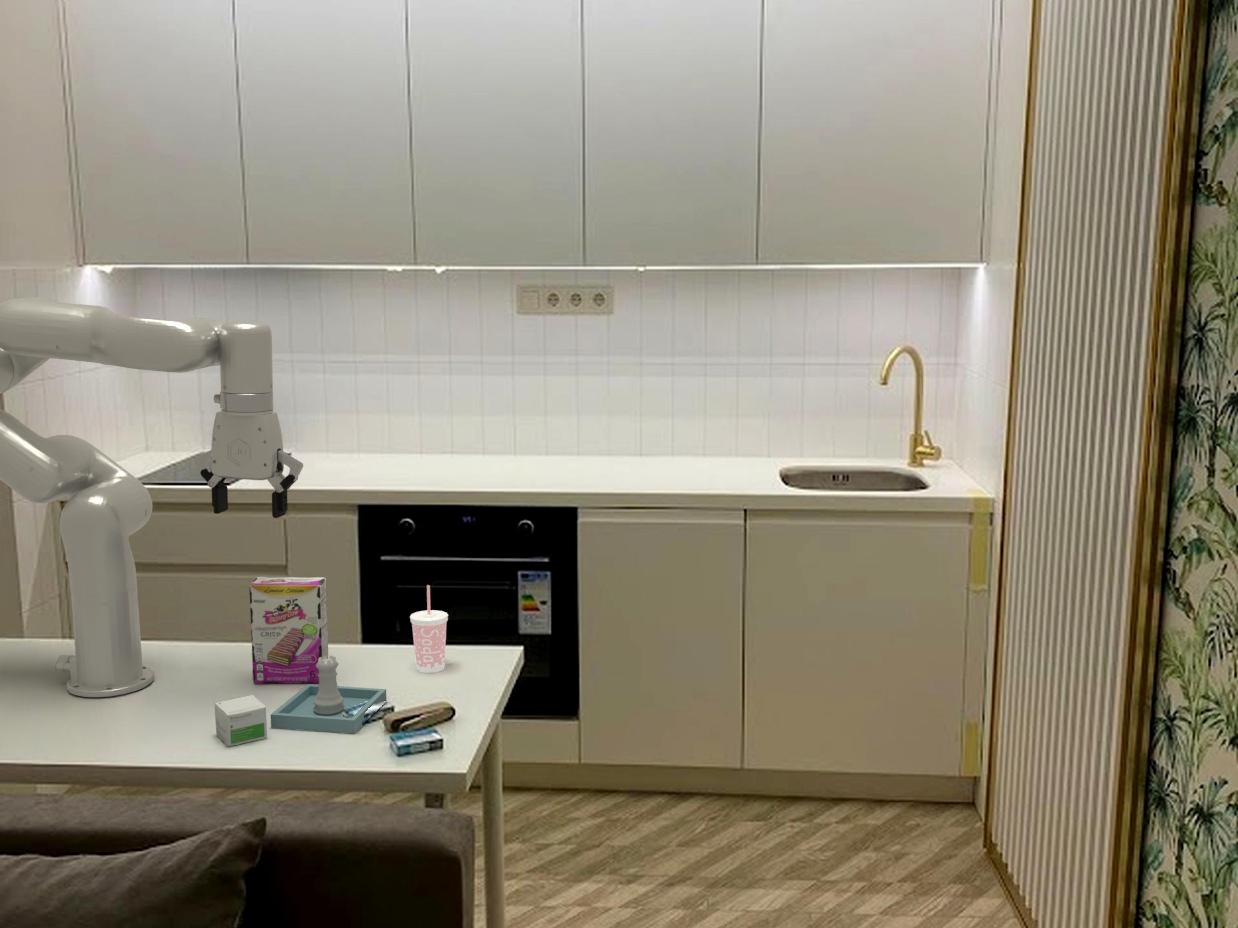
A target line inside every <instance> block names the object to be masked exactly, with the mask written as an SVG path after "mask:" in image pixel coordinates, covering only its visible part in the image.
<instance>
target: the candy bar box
mask: <svg viewBox="0 0 1238 928" xmlns="http://www.w3.org/2000/svg"><path fill="white" fill-rule="evenodd" d="M248 588H249V589H248V590H249V591H248V592H249V605H250V606H249V608H250V611H249V612H250V629H251V630H250V631H251V632H250V633H251V634H250V635H251V656H252V657H251V659H252V661H251V662H252V681H253V684H256V685H257V684H265V685H266V684H268V685H269V684H272V685H273V684H286V685H287V684H293V685H294V684H302V685H303V684H319V677H318V674H319V669H318V668H317V667H316V664H317V663H318V659H319V658H320V657H322V659H323V656H327V659H329V637H328V636H329V635H328V631H329V630H328V629H329V628H328V603H327V602H328V599H327V598H328V597H327V594H328V593H327V578H326V577H324V576H323V577H320V576H317V577H315V576H308V577H307V576H306V577H303V576H302V577H301V576H300V577H299V576H296V577H295V576H286V577H285V576H257V577H256V578H255V579H254V580H253V581H251V582H250V584H249V585H248Z"/></svg>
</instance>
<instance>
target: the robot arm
mask: <svg viewBox="0 0 1238 928" xmlns="http://www.w3.org/2000/svg"><path fill="white" fill-rule="evenodd" d="M272 337H273V335H272V329H271V327H270V326H269V325H268V324H267V323H265V322H262V321H251V320H250V321H247V320H242V321H241V320H238V321H235V320H234V321H222V320H217V319H216V320H215V319H211V318H210V319H209V318H202V317H201V318H200V317H196V318H186V319H180V320H166V319H164V320H163V319H155V318H153V319H152V318H144V317H143V318H142V317H134V316H129V315H122V314H118V313H115V312H113V311H112V310H111V309H110V308H109V307H105V306H102V305H93V304H81V303H68V302H60V301H57V300H55V299H53V298H49V297H43V296H35V297H19V298H12V299H11V298H10V299H8V300H5V301H3V302H1V303H0V395H2V394H3V393H6V392H8V391H9V390H11V389H12V388H13V389H14V387H16V386H17V385H18V384H20V383H21V382H22V381H24V380H25V379H26V378H28V376H30V375H31V374H32V373H34V372H35V371H36V370H38V369H39V368H40V367H41V366H43V365H44V364H45V363H47V361H48V360H50V359H54V360H55V359H57V360H68V361H75V362H85V363H96V364H100V365H104V366H105V365H106V366H115V367H120V368H126V369H132V370H133V369H134V370H143V371H151V372H152V371H154V372H166V373H179V374H181V373H189V372H192V371H196V370H201V369H205V368H209V367H216V366H217V367H218V366H220V367H219V368H220V369H219V370H220V371H219V372H220V374H219V375H220V376H219V377H220V392H219V394H217V393H216V394H214V395H213V401H214V403H215V404H220V406H219V407H220V409H221V411H216V412H215V416H214V417H215V418H214V421H213V426H212V434H211V435H212V436H211V445H210V446H211V449H210V450H207V451H206V452H204V453H202V454H200V455H199V456H198V455H197V456H196V457H195V458H194V462H195V465H196V466H197V469H198V470H199V473H200V476H201V478H203V479H204V480H205V481H206V483H207V486H208V487H209V488H210V489H211V505H212V507H213V513H214V514H220V513H224V512H226V511H228V510H229V501H228V500H229V496H228V493H229V492H228V489H229V488H228V485H227V484H225V483H226V481H227V480H228V479H233V480H248V481H249V480H250V481H251V480H252V481H268V482H269V484H270V486H272V487H273V489H274V491H273V492H272V493H271V516H272V518H273V519H278V518H281V517H282V516H283V517H284V516H285V515H286V513H287V511H288V490H289V489H290V488H291V487H292V486H293V484H295V483H296V482H297V481H298V478H299V476H300V475H301V472H302V470H303V468H304V463H302V462H301V461H300V460H298V459H296V458H295V457H293V456H291V455H289V454H288V453H287V452H285V451H284V442H283V436H282V430H281V429H282V428H281V424H280V420H279V416H278V413H277V412H274V392H273V391H274V390H273V389H274V388H273V387H274V386H273V384H274V382H273V381H274V380H273V338H272ZM209 462H210V463H209ZM284 466H286V467H288V468H289V471H288V474H287V475H286V476H285V475H284V474H283V472H284V470H285V469H284V468H285V467H284ZM0 481H1V482H2V483H4V484H5V485H7V486H8V487H9V488H11V489H12V490H13V491H14V492H15V493H16V494H18V495H20V496H21V497H22V498H24V499H25V500H27V501H29V502H31V503H35V504H48V503H52V502H56V501H58V500H59V499H62V498H64V497H65V499H68V501H67V502H66V503H65V505H64V506H63V508H62V511H61V514H60V518H59V531H60V536H61V540H62V544H63V548H64V551H65V557H66V561H67V568H68V569H67V570H68V576H69V578H68V579H69V590H70V599H71V601H70V602H71V611H72V624H73V625H72V628H73V636H74V637H73V638H74V640H73V641H74V652H75V655H73V654H59V656H58V658H57V663H56V664H55V670H56V671H58V672H69V673H70V677H69V679H68V680H66V689H67V690H66V691H68V692H69V693H70V694H72V695H74V696H78V697H83V698H108V697H116V696H121V695H126V694H130V693H133V692H135V691H138V690H141V689H143V688H146V687H147V686H149V685H150V684H152V682H154V680H155V679H154V678H155V673H154V670H153V669H152V668H151V667H148V666H146V665H143V653H142V652H143V651H142V642H141V641H142V639H141V626H140V625H141V623H140V610H139V609H140V608H139V607H140V606H139V598H138V594H139V593H138V581H137V580H138V579H137V570H136V563H135V559H134V554H133V552H132V549H131V548H132V547H131V545H130V538H129V537H130V536H131V535H133V534H135V533H137V532H138V531H139V530H141V529H142V528H144V526H146V525H147V523H148V522H149V520H150V519H151V516H152V513H153V499H152V497H151V494H150V492H149V490H148V488H147V487H146V486H144V484H143V483H142V482H141V481H140V480H139V479H138V478H136V477H135V476H134V475H133V474H131V473H130V471H127V470H126V469H125V468H124V467H122V466H121V465H119V464H118V463H117V462H116V461H115V460H114V459H112V458H110V457H109V456H108V455H107V454H105V453H104V452H102V451H101V450H100V449H98V448H97V447H96V446H94V445H93V444H92V443H90V442H88V441H86V440H84V439H82V438H80V437H78V436H74V435H72V434H71V435H70V434H58V435H57V434H56V435H52V436H49V437H43V436H42V435H39V434H38V433H36V432H34V431H33V430H32V429H30V428H29V427H28V426H26V425H25V424H23V423H22V422H21V421H20V420H19V419H18V418H17V417H15V416H14V415H13V414H11V413H9V412H7V411H5V410H3V409H1V408H0Z"/></svg>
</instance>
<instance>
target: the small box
mask: <svg viewBox="0 0 1238 928" xmlns="http://www.w3.org/2000/svg"><path fill="white" fill-rule="evenodd" d="M213 706H214V717H215V733H216V736H217V737H218V738H219V739H220V740H221V741H222V742H223V743H224V744H225V745H226V746H227V747H228V748H230V747H234V746H238V745H242V744H246V743H250V742H254V741H258V740H264V739H267V738H268V725H267V724H268V723H267V721H268V720H267V708H266V707H267V706H266V705H265V704H264V703H262V701H260V699H257V697H255V695H254V694H250V695H246V696H241V697H238V698H232V699H228V700H224V701H219V702H214V705H213Z"/></svg>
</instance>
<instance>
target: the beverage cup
mask: <svg viewBox="0 0 1238 928" xmlns="http://www.w3.org/2000/svg"><path fill="white" fill-rule="evenodd" d="M426 602H427V605H426V606H427V607H426V608H427V609H426V610H420V611H416V612H413V613H411V614H410V616H409V619H410V623H411V627H412V638H413V639H412V640H413V646H414V647H413V648H414V658H415V659H414V661H415V670H416V671H417V672H418V673H423V674H434V673H438V672H441V671H443V670H445V665H446V643H447V642H446V641H447V622H448V620H449V614H448V612H445V611H443V610H436V609H435V610H434V609H432V610H431V585H429V584H427V585H426Z"/></svg>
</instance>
